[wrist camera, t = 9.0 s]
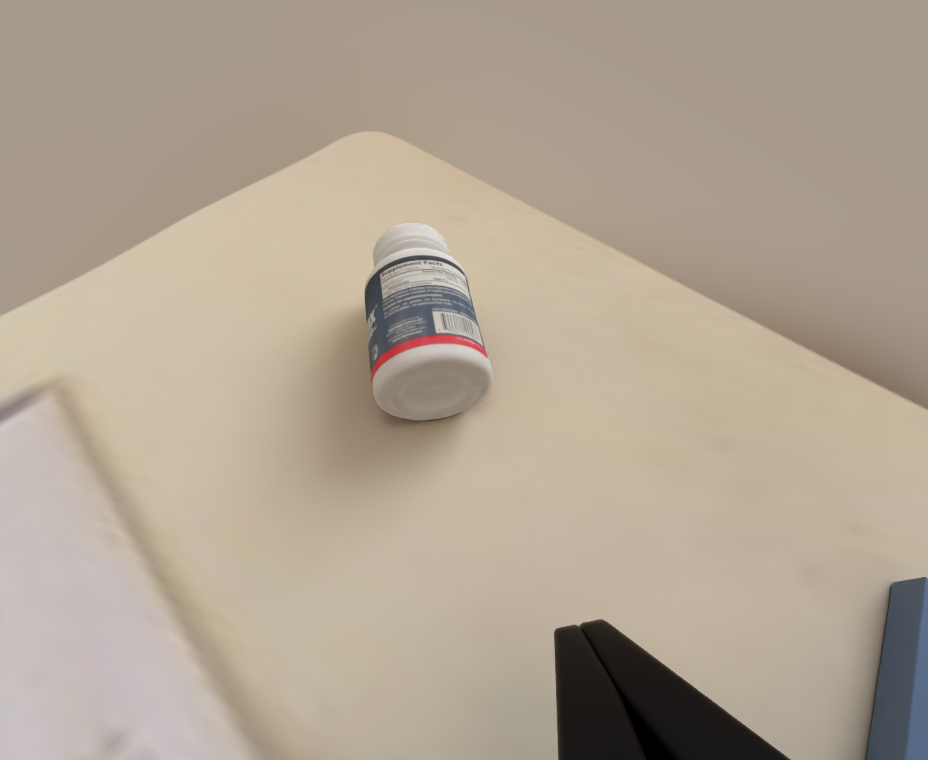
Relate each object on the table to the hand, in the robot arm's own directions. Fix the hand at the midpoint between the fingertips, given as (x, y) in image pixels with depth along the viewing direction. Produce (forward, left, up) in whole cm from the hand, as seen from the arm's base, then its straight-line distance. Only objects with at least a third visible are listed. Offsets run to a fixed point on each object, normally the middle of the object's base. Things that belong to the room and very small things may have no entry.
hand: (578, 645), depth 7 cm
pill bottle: (+4, +9, -8) cm, 12 cm away
